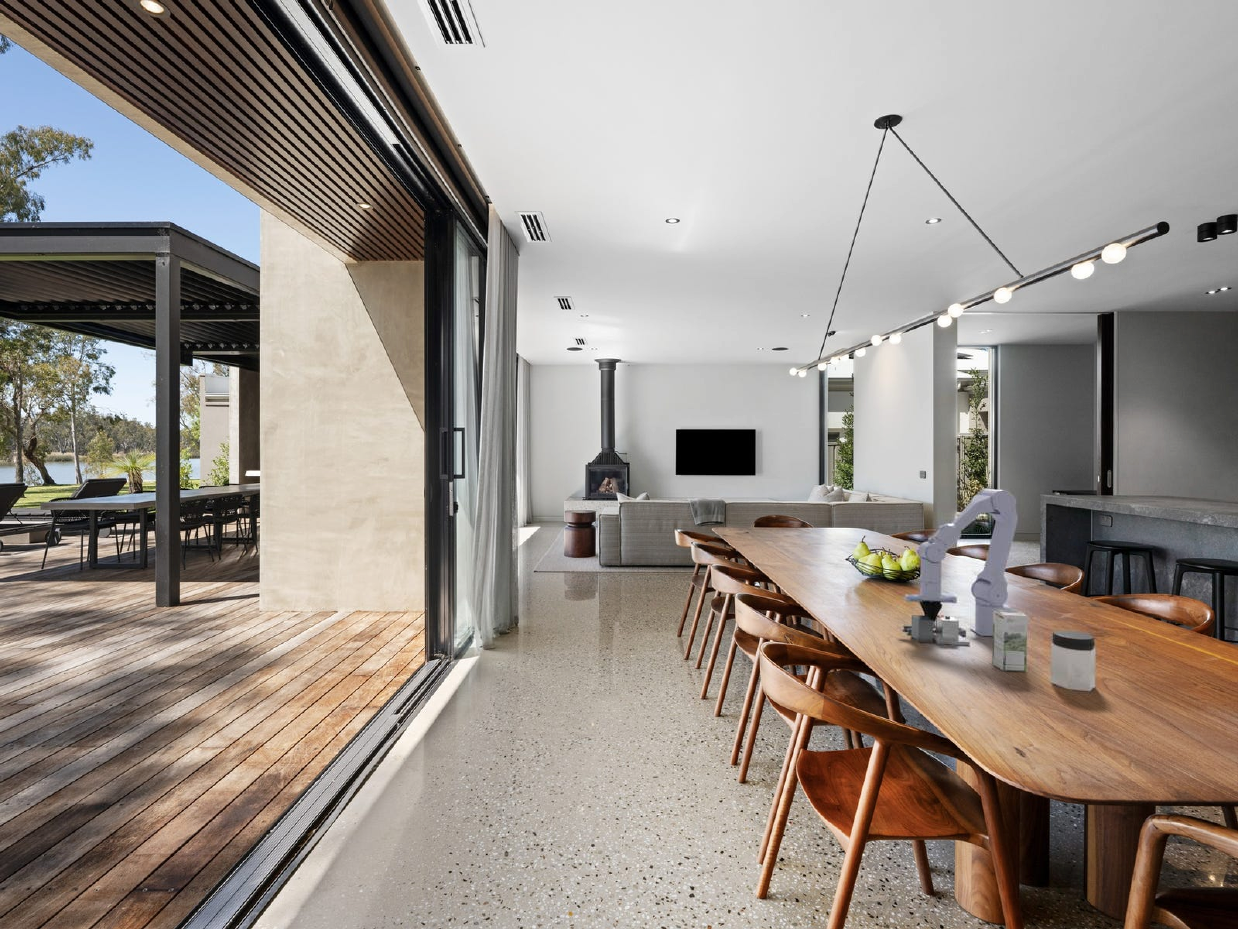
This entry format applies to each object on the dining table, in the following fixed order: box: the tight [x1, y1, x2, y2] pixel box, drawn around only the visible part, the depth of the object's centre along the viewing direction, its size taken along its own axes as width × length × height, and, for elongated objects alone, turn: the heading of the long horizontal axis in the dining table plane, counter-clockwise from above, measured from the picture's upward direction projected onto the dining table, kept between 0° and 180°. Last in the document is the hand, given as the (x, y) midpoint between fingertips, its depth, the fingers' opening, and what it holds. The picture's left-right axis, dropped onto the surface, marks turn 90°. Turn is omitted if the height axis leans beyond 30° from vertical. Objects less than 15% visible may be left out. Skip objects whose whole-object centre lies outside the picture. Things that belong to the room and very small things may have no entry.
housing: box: [936, 615, 960, 640], centre depth 189 cm, size 4×4×6 cm
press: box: [902, 614, 971, 646], centre depth 192 cm, size 17×15×6 cm
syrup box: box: [991, 609, 1029, 673], centre depth 164 cm, size 6×6×14 cm
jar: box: [1050, 629, 1096, 692], centre depth 152 cm, size 9×8×12 cm
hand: (930, 625), depth 197 cm, fingers closed
